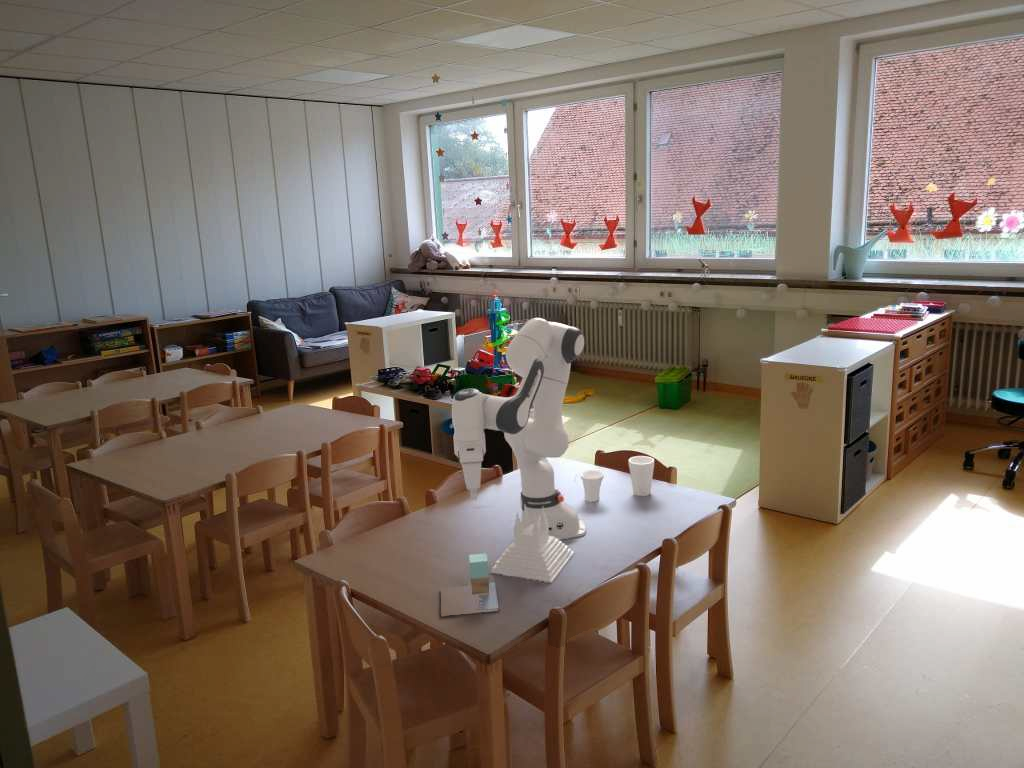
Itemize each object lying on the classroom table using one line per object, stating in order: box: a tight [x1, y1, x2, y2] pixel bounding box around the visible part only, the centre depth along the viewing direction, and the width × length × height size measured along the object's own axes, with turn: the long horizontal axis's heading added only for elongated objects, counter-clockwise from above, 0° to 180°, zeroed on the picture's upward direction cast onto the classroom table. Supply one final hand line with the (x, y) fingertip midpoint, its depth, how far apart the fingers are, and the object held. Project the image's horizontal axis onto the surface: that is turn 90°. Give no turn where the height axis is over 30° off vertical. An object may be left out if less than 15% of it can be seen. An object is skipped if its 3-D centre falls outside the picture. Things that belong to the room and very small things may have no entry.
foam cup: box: [628, 455, 655, 497], centre depth 289 cm, size 10×9×13 cm
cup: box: [579, 469, 605, 503], centre depth 286 cm, size 9×9×10 cm
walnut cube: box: [470, 574, 490, 595], centre depth 222 cm, size 5×5×5 cm
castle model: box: [492, 504, 575, 584], centre depth 237 cm, size 20×20×18 cm
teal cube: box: [468, 552, 489, 580], centre depth 221 cm, size 5×5×5 cm
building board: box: [475, 581, 499, 610], centre depth 219 cm, size 16×15×1 cm
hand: (473, 493), depth 220 cm, fingers open, 8 cm apart
